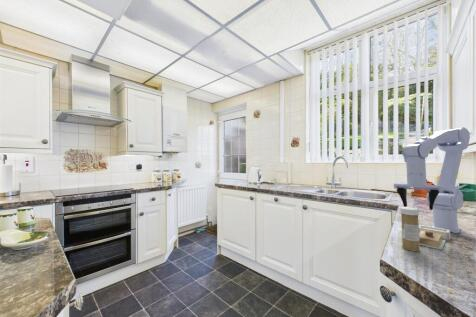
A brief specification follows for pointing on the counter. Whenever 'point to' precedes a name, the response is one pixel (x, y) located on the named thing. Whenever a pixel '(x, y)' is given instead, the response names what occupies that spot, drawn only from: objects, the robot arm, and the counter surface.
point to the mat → (434, 246)
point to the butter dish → (436, 231)
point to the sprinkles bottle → (410, 228)
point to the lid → (430, 238)
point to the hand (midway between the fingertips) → (417, 207)
